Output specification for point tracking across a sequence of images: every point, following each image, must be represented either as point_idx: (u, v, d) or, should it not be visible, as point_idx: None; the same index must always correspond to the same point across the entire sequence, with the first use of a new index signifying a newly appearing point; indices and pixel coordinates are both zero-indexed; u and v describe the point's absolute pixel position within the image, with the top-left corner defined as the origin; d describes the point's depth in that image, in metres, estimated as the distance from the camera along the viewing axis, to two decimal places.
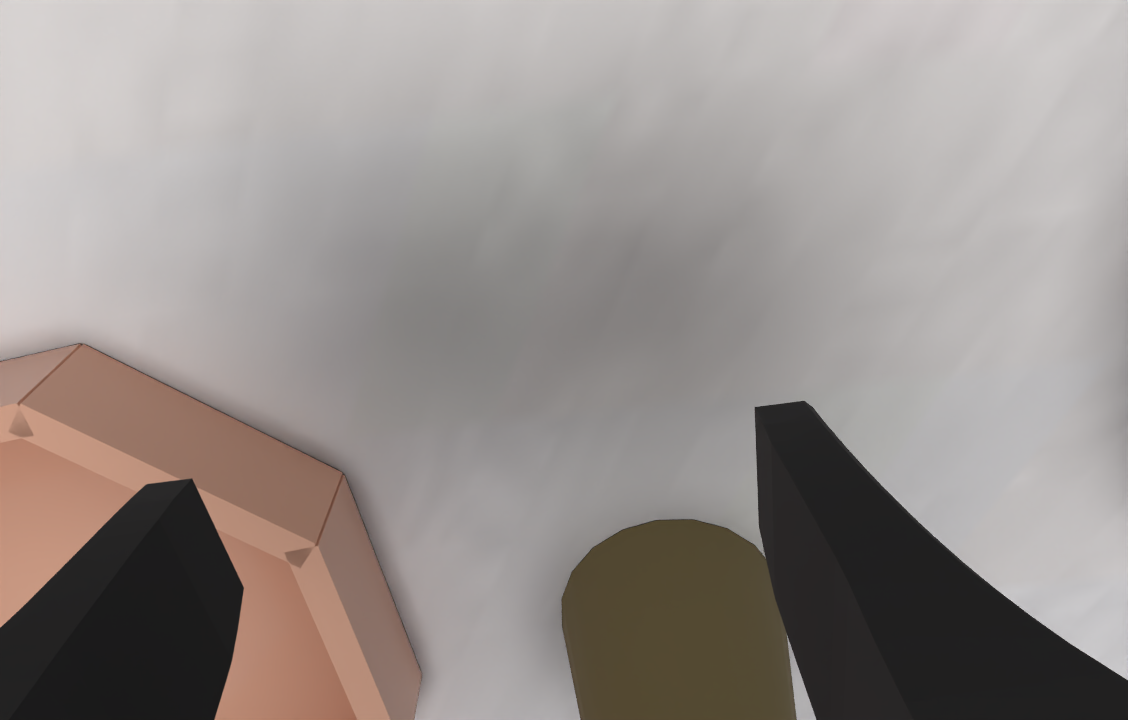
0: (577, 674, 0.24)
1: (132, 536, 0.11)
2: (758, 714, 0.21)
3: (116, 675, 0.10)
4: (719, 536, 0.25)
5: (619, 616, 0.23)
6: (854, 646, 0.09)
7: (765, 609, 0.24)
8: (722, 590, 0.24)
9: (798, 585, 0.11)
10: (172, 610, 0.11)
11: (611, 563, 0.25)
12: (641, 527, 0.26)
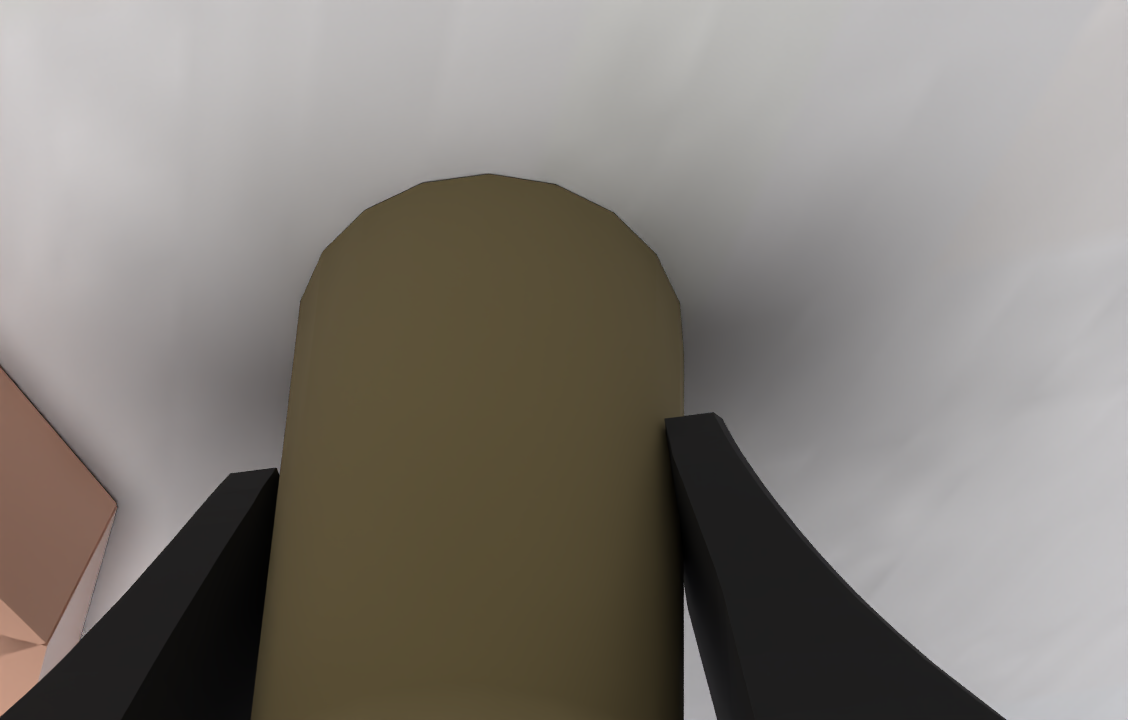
0: None
1: (225, 525, 0.11)
2: (559, 499, 0.10)
3: (216, 663, 0.10)
4: (537, 196, 0.13)
5: (328, 350, 0.12)
6: (731, 659, 0.09)
7: (620, 312, 0.12)
8: (523, 280, 0.12)
9: (699, 596, 0.11)
10: (262, 599, 0.11)
11: (339, 267, 0.13)
12: (398, 200, 0.14)
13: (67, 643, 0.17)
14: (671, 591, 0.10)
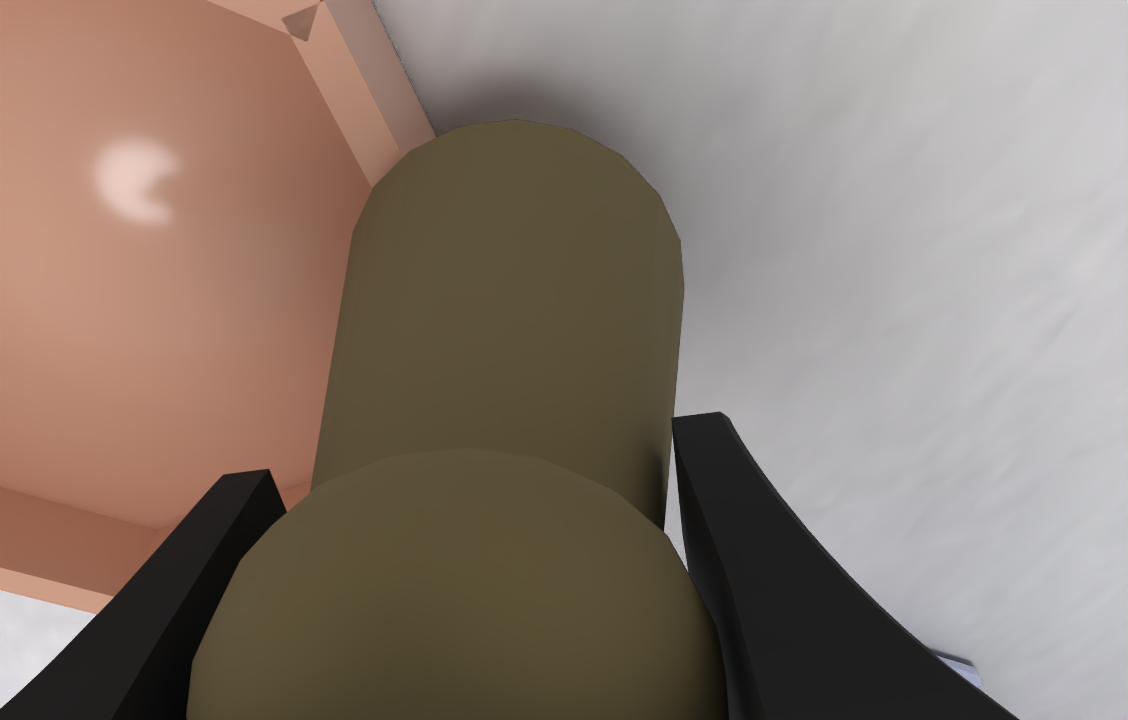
0: None
1: (217, 526, 0.11)
2: (564, 341, 0.12)
3: None
4: (556, 137, 0.16)
5: (377, 250, 0.14)
6: (740, 659, 0.09)
7: (623, 226, 0.15)
8: (540, 193, 0.14)
9: (706, 596, 0.11)
10: None
11: (387, 193, 0.16)
12: (439, 142, 0.16)
13: None
14: (656, 430, 0.12)
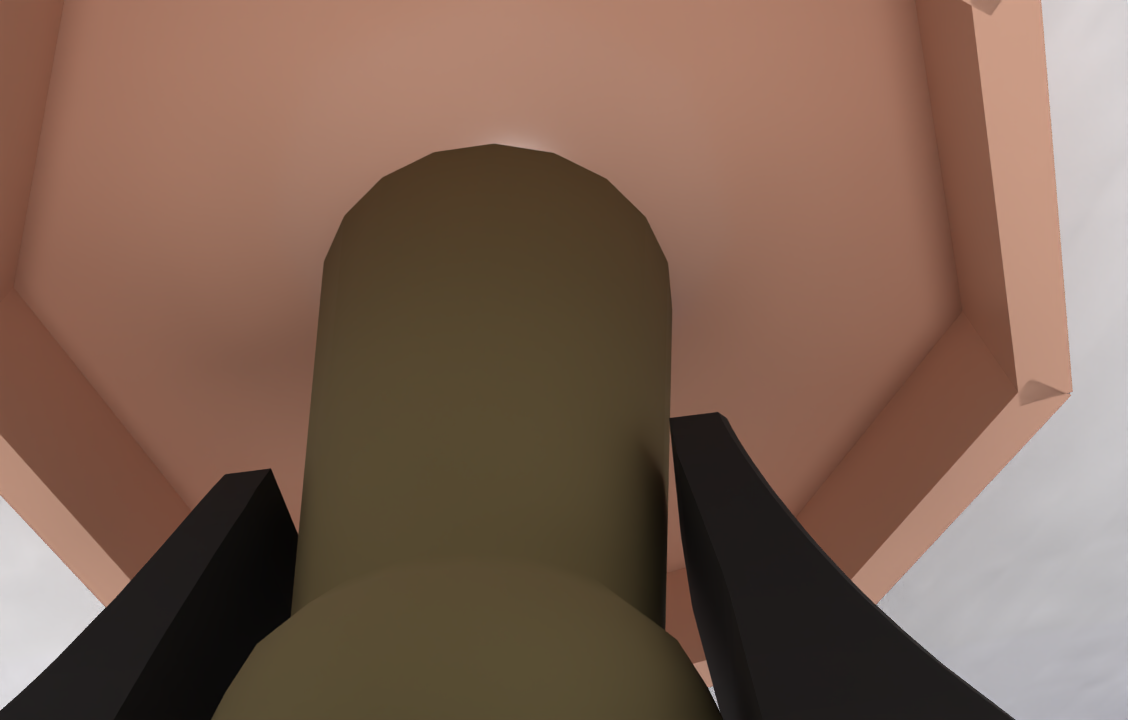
0: None
1: (219, 525, 0.11)
2: (557, 412, 0.11)
3: (210, 664, 0.10)
4: (537, 163, 0.15)
5: (352, 297, 0.14)
6: (737, 659, 0.09)
7: (611, 262, 0.14)
8: (524, 233, 0.14)
9: (703, 596, 0.11)
10: (257, 600, 0.11)
11: (360, 227, 0.15)
12: (413, 168, 0.15)
13: None
14: (655, 497, 0.12)
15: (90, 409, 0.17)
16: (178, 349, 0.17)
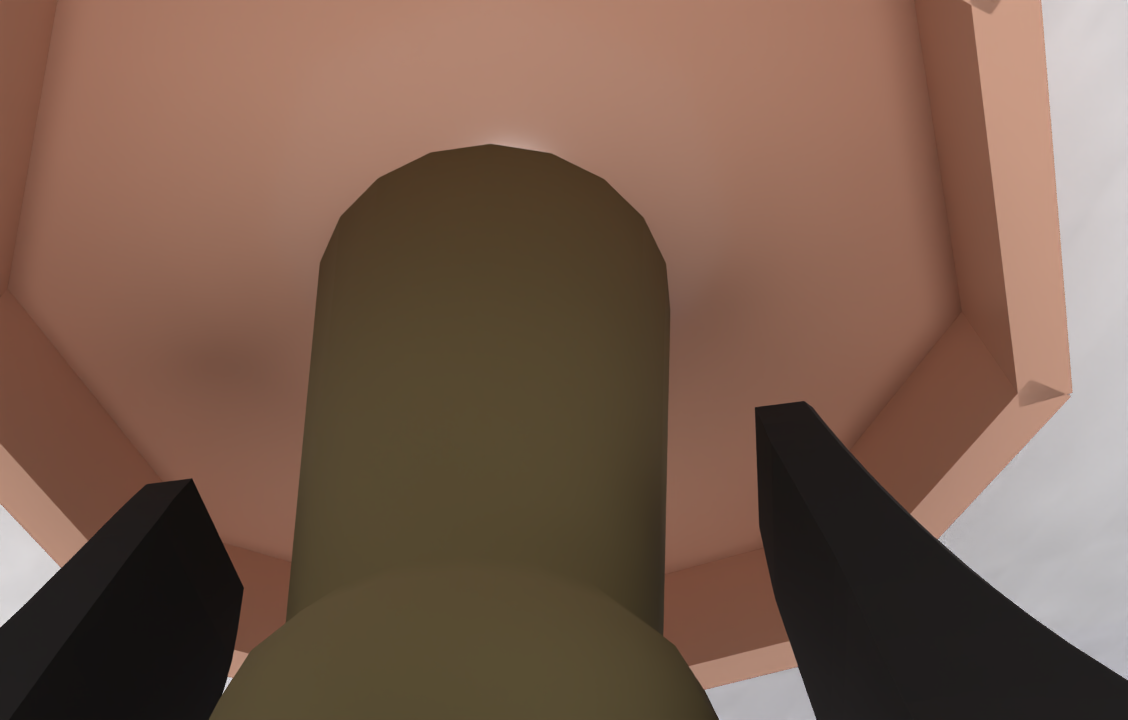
0: None
1: (132, 536, 0.11)
2: (554, 415, 0.11)
3: (116, 675, 0.10)
4: (534, 163, 0.15)
5: (348, 299, 0.13)
6: (854, 646, 0.09)
7: (609, 264, 0.14)
8: (520, 235, 0.13)
9: (798, 585, 0.11)
10: (172, 610, 0.11)
11: (356, 228, 0.15)
12: (409, 168, 0.15)
13: None
14: (653, 500, 0.12)
15: (85, 411, 0.17)
16: (173, 350, 0.17)
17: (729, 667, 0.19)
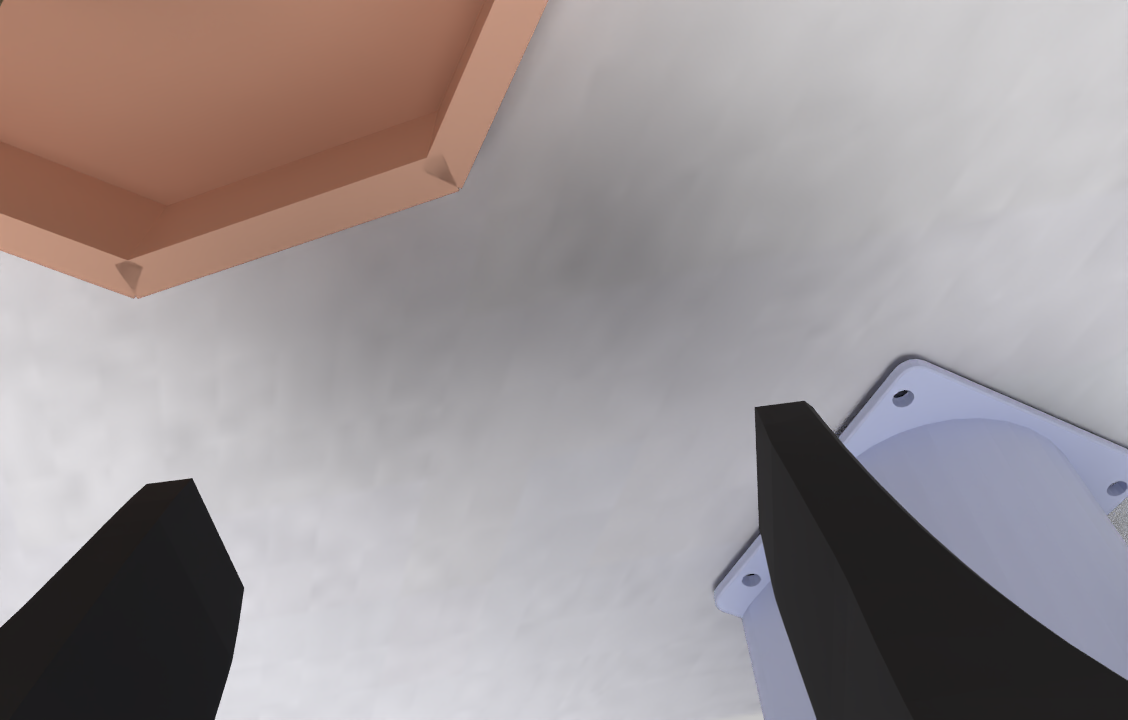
0: None
1: (132, 536, 0.11)
2: None
3: (116, 675, 0.10)
4: None
5: None
6: (854, 646, 0.09)
7: None
8: None
9: (798, 585, 0.11)
10: (172, 610, 0.11)
11: None
12: None
13: None
14: None
15: None
16: None
17: (362, 197, 0.18)
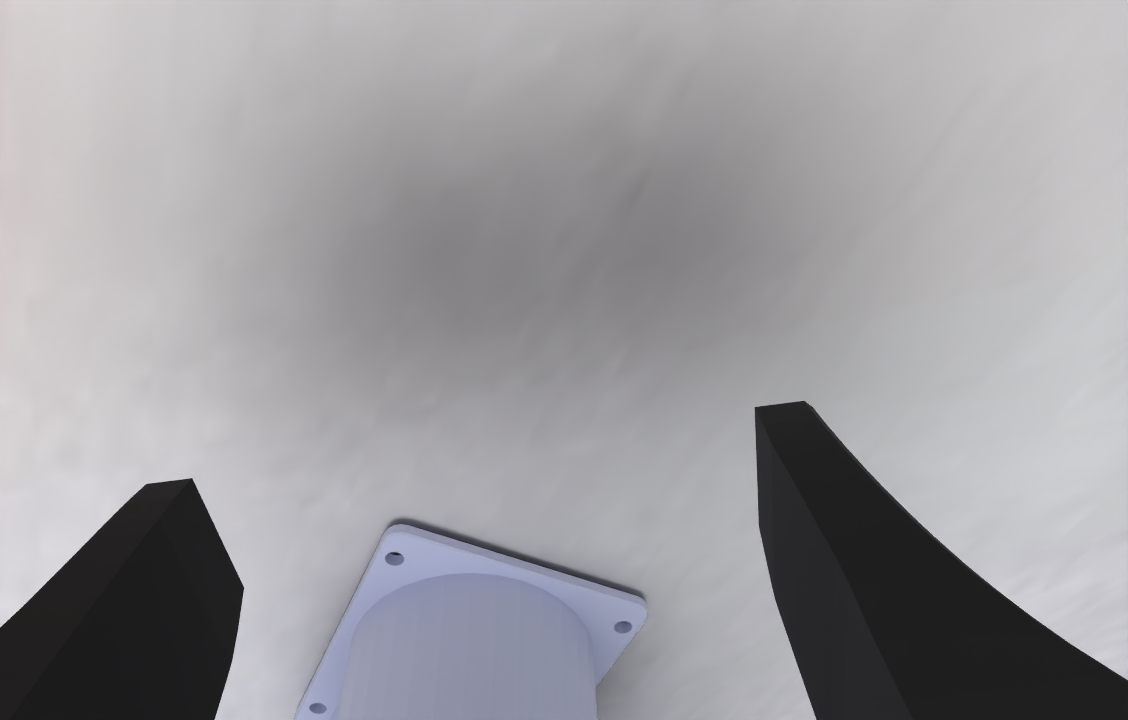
0: None
1: (132, 536, 0.11)
2: None
3: (116, 675, 0.10)
4: None
5: None
6: (854, 646, 0.09)
7: None
8: None
9: (798, 585, 0.11)
10: (172, 610, 0.11)
11: None
12: None
13: None
14: None
15: None
16: None
17: None
